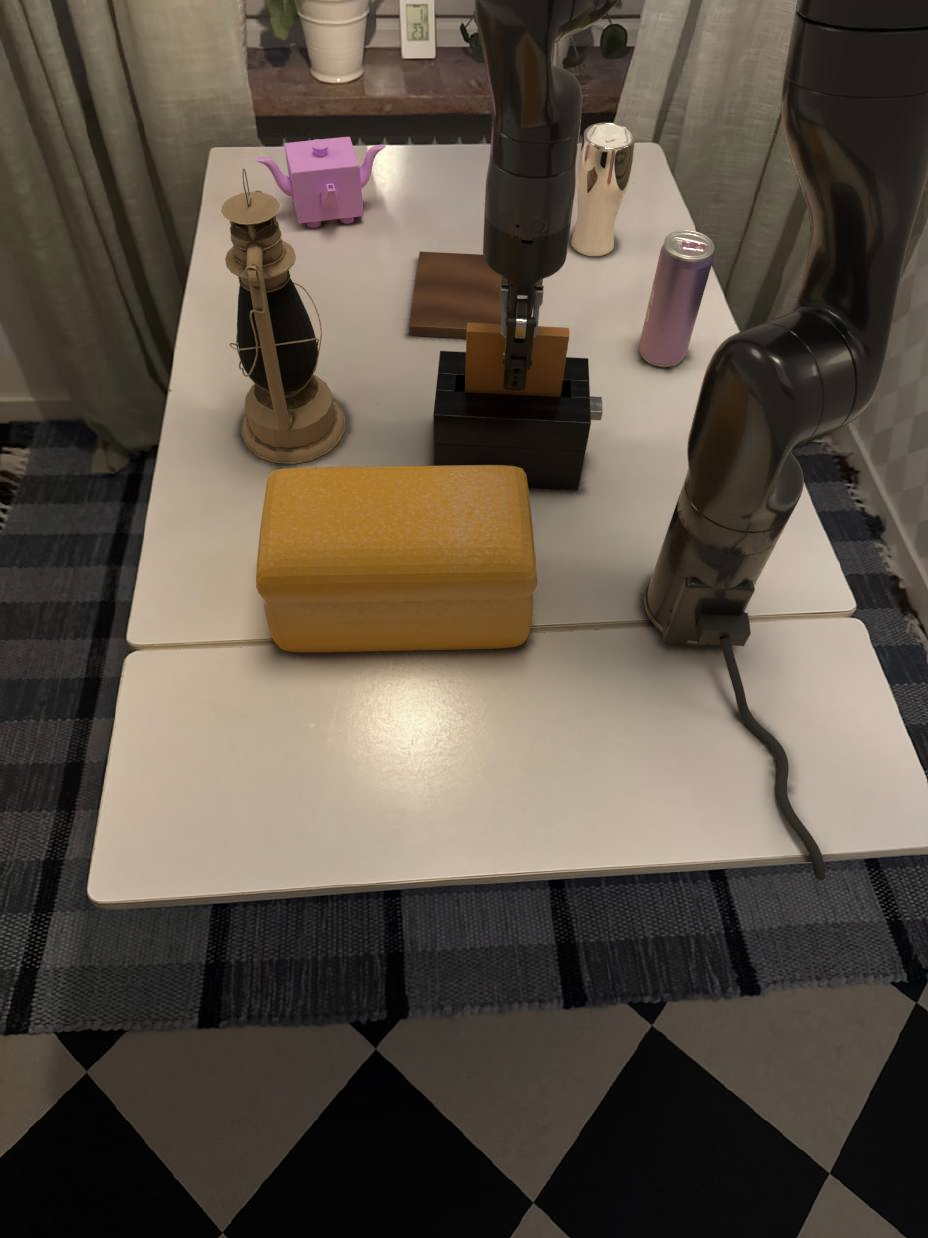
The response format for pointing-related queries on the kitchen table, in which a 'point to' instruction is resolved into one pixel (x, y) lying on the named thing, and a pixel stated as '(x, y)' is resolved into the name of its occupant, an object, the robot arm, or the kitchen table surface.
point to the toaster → (515, 425)
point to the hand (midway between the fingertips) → (514, 364)
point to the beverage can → (676, 297)
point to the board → (453, 294)
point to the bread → (397, 558)
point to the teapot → (324, 179)
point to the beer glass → (601, 185)
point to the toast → (488, 358)
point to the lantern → (276, 341)
